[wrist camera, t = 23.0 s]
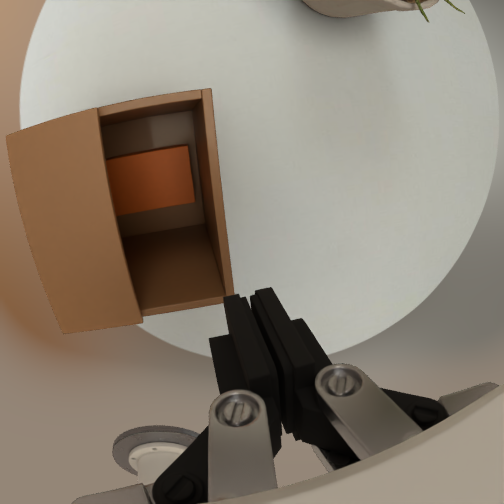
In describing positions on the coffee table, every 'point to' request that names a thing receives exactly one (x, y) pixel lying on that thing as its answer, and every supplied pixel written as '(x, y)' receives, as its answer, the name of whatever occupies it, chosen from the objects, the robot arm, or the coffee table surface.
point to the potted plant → (368, 6)
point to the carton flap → (73, 222)
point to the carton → (174, 217)
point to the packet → (150, 179)
